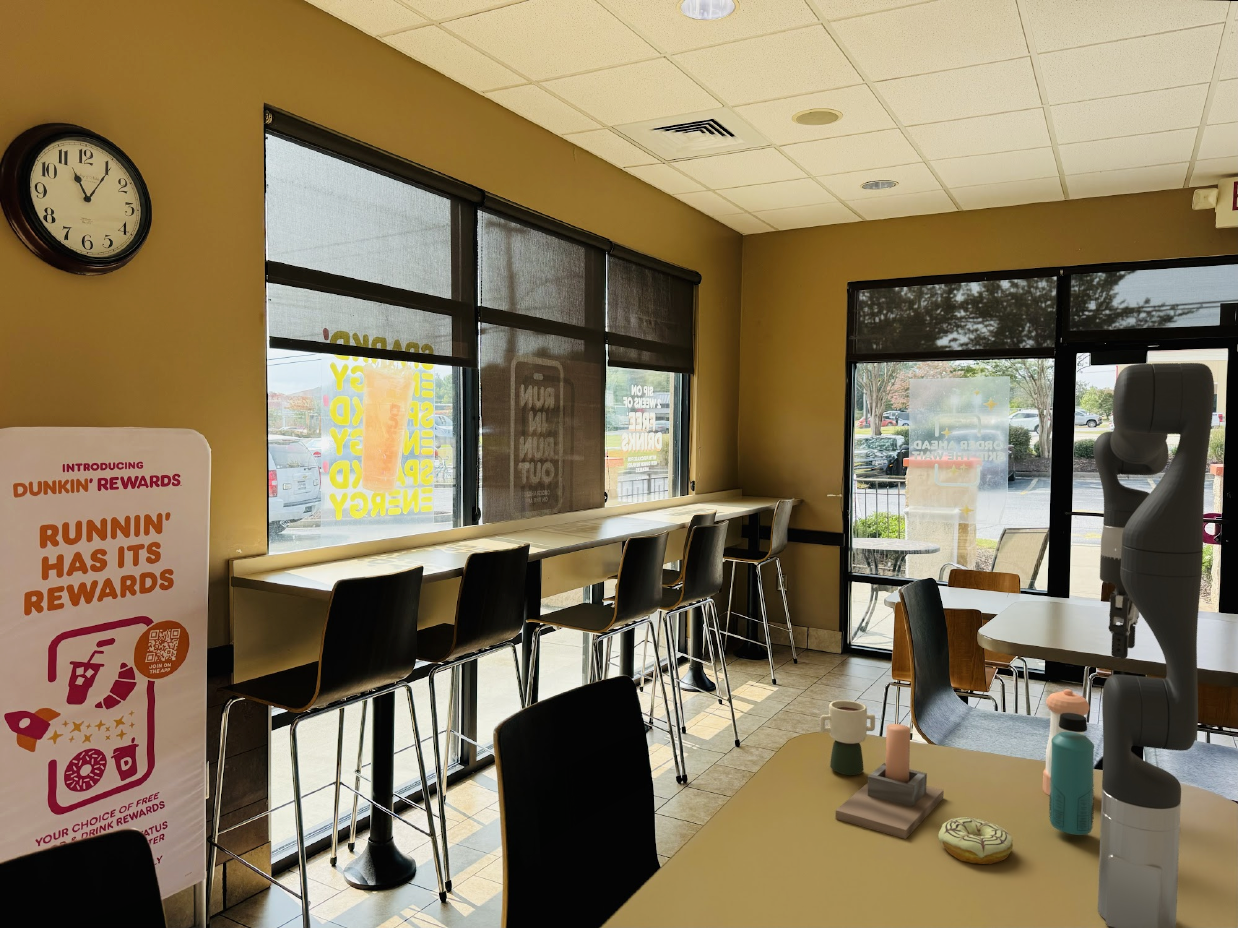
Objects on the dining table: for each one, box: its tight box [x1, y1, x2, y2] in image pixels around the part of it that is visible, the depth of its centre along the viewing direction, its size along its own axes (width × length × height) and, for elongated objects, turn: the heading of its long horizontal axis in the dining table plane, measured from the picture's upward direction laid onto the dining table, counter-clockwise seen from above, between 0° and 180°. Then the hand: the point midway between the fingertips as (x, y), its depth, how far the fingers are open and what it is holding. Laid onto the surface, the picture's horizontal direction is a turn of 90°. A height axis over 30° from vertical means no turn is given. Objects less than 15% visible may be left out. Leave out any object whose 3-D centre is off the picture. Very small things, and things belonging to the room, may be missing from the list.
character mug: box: [819, 699, 876, 776], centre depth 172 cm, size 11×7×13 cm, turn 95°
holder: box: [835, 762, 944, 840], centre depth 156 cm, size 20×12×5 cm, turn 143°
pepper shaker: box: [1042, 688, 1090, 796], centre depth 163 cm, size 7×7×19 cm
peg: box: [885, 723, 911, 783], centre depth 158 cm, size 4×4×12 cm
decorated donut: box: [938, 816, 1014, 865], centre depth 141 cm, size 10×11×4 cm
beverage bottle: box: [1048, 713, 1095, 836], centre depth 146 cm, size 6×7×20 cm
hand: (1123, 652), depth 146 cm, fingers open, 8 cm apart
